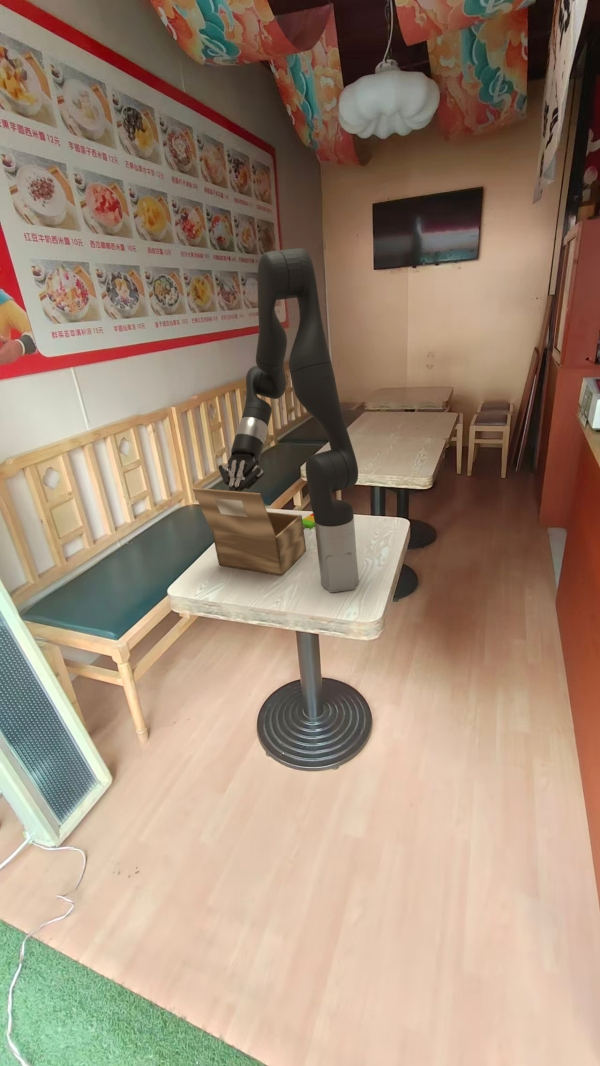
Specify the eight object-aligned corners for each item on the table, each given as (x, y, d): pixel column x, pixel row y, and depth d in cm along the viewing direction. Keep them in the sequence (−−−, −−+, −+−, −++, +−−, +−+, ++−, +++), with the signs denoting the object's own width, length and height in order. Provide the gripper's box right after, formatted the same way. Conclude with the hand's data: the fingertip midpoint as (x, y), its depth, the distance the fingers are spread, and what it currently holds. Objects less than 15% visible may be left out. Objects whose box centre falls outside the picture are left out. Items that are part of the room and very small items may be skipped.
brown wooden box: (246, 543, 154) (240, 509, 149) (306, 551, 145) (301, 515, 140) (219, 565, 143) (211, 529, 138) (282, 575, 134) (276, 537, 129)
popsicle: (329, 519, 163) (329, 513, 163) (298, 538, 154) (297, 532, 153) (316, 516, 167) (315, 510, 166) (285, 534, 157) (284, 528, 156)
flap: (193, 487, 129) (192, 489, 129) (260, 493, 120) (259, 494, 120) (212, 529, 138) (211, 530, 137) (275, 537, 129) (274, 538, 128)
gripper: (220, 431, 131) (201, 495, 127) (265, 432, 125) (246, 499, 121) (235, 445, 138) (218, 506, 134) (278, 446, 132) (261, 510, 128)
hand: (231, 502), depth 127 cm, fingers closed
